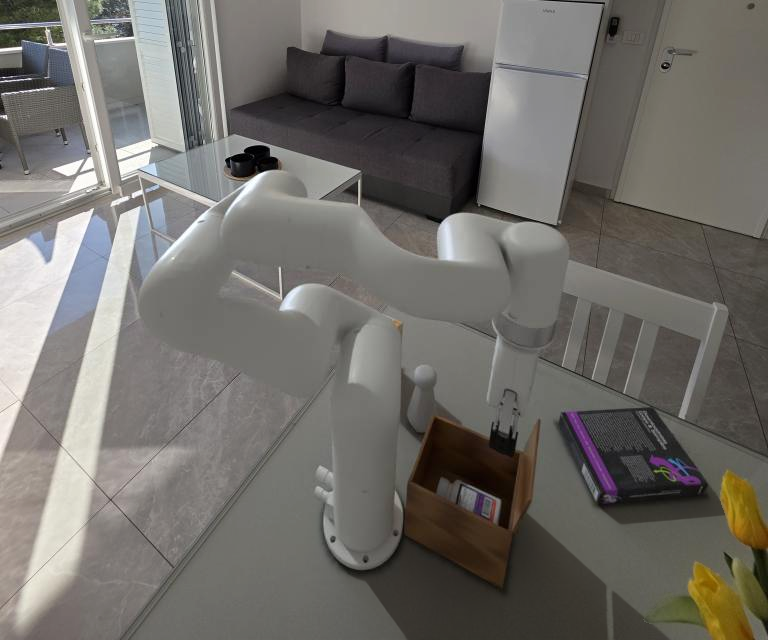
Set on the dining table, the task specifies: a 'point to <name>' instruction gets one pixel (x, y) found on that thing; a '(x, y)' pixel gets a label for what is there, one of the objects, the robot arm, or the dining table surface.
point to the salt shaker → (423, 398)
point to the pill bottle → (471, 499)
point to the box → (630, 455)
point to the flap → (526, 476)
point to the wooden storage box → (450, 521)
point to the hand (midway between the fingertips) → (507, 418)
